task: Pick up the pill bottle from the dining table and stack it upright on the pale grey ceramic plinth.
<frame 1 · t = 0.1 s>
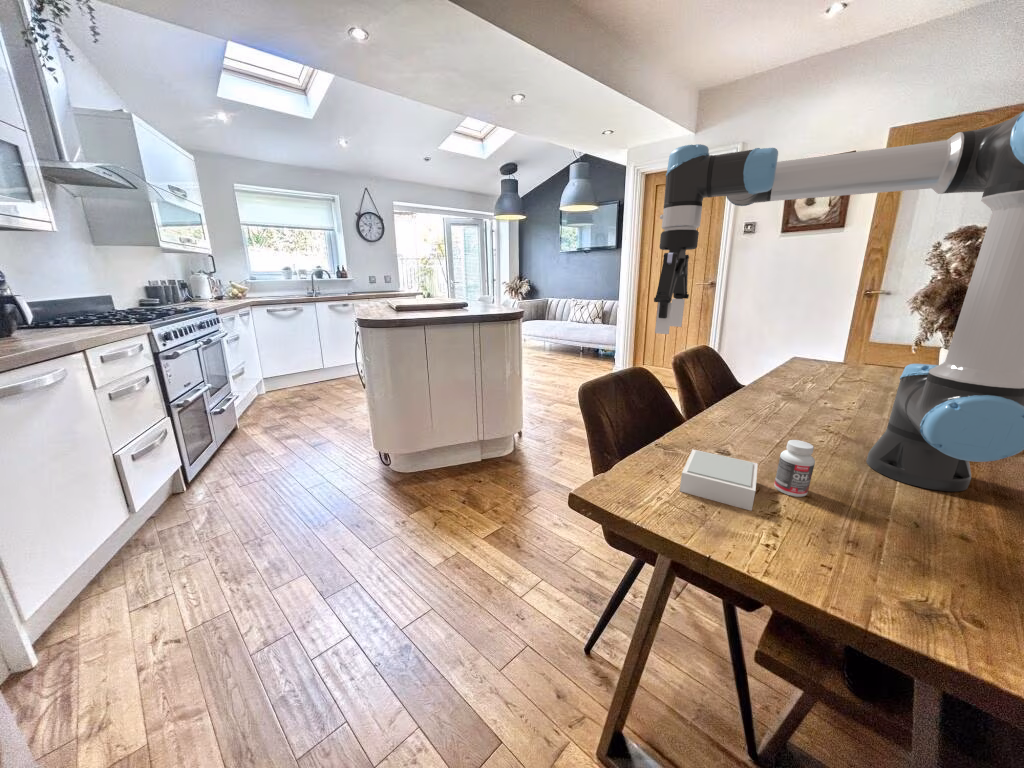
hand: (668, 329, 89), 28 cm above the table, fingers open, 13 cm apart
pill bottle: (790, 491, 76), on the table
plinth: (717, 486, 77), on the table
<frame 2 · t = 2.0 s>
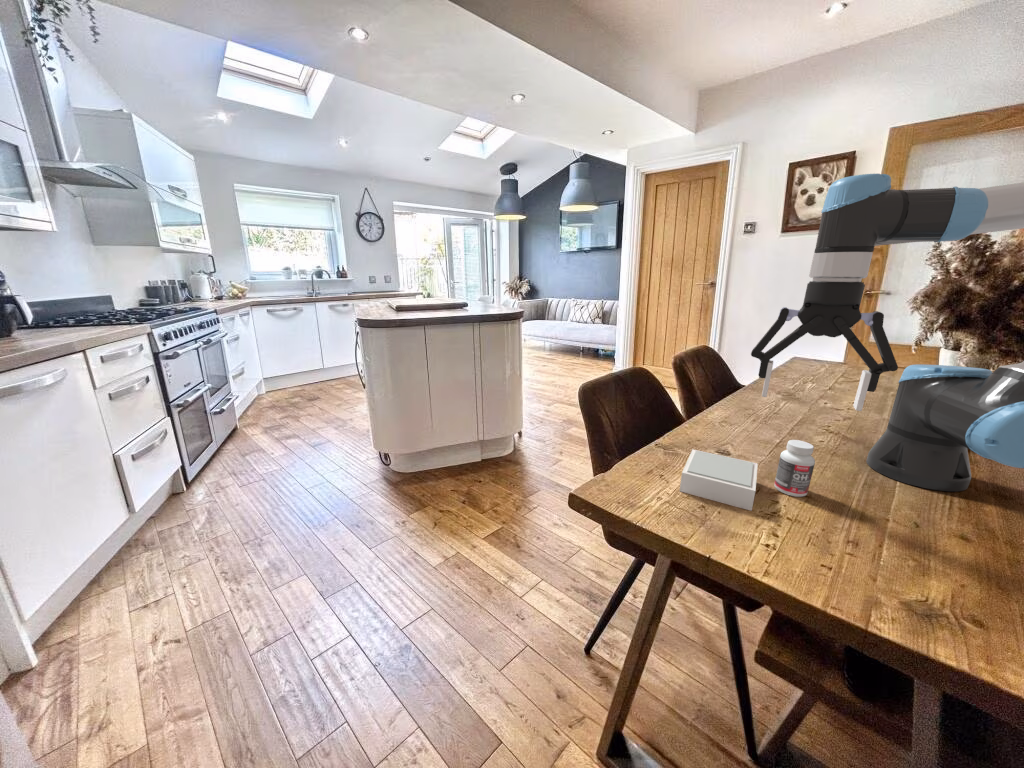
hand: (808, 401, 71), 18 cm above the table, fingers open, 13 cm apart
nothing on the table moved.
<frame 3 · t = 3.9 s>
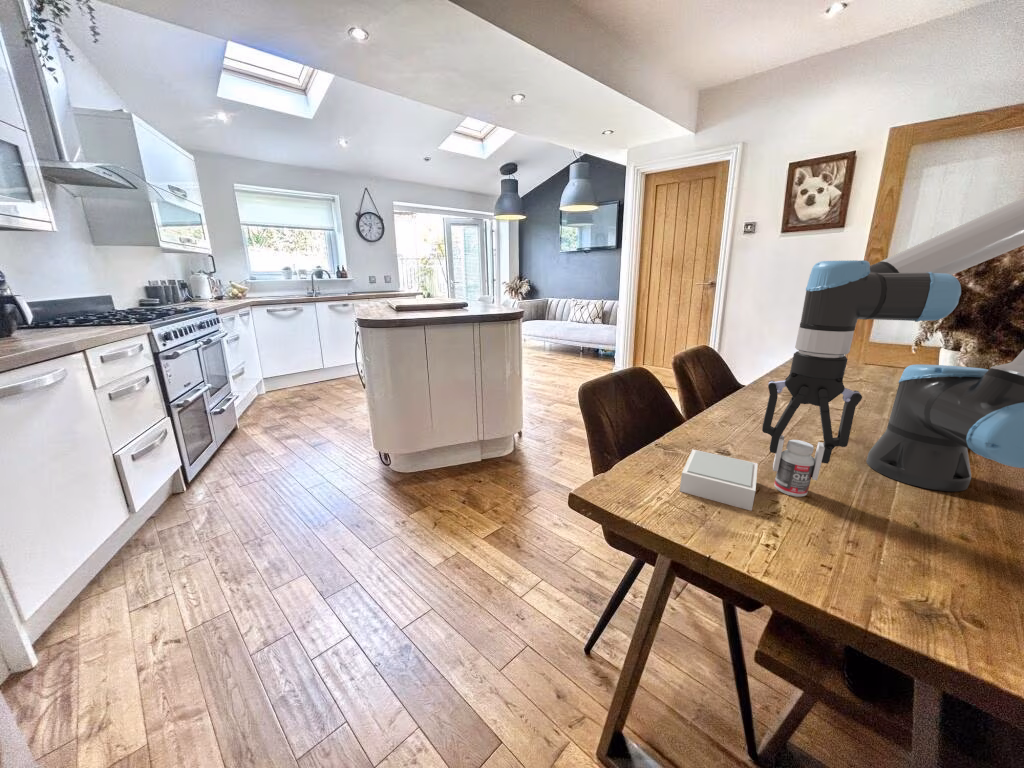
hand: (794, 472, 75), 4 cm above the table, fingers closed on pill bottle, 5 cm apart
pill bottle: (790, 491, 76), on the table, touching gripper
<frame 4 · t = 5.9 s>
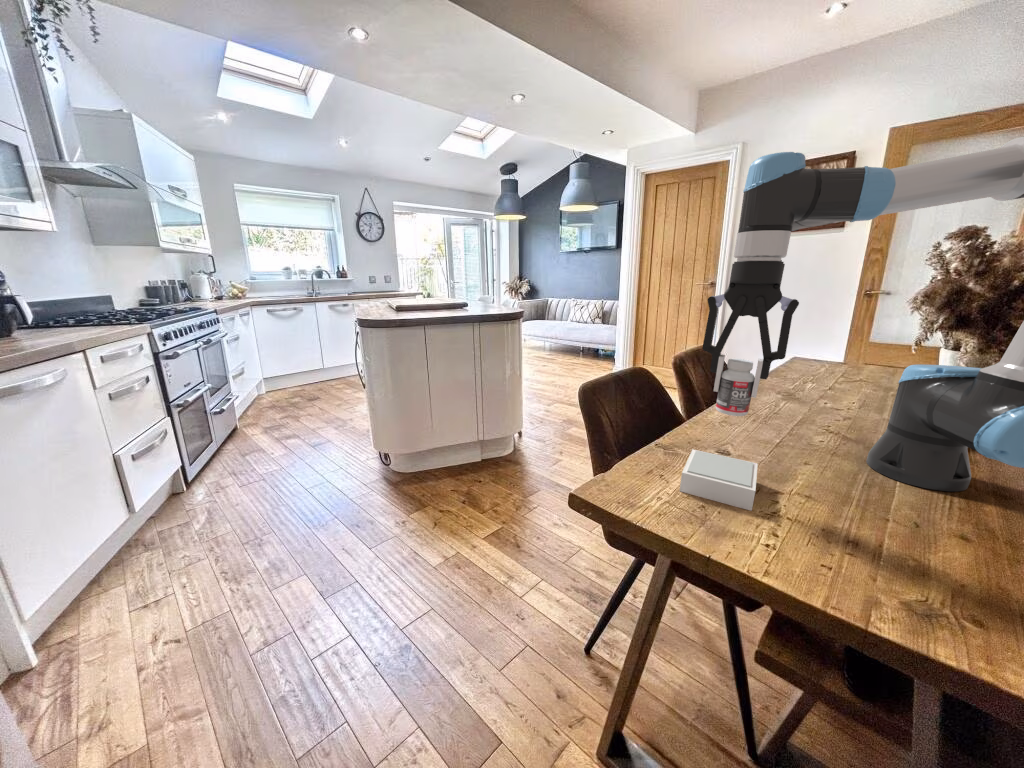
hand: (734, 392, 72), 19 cm above the table, fingers closed on pill bottle, 5 cm apart
pill bottle: (731, 412, 73), point 15 cm above the table, touching gripper
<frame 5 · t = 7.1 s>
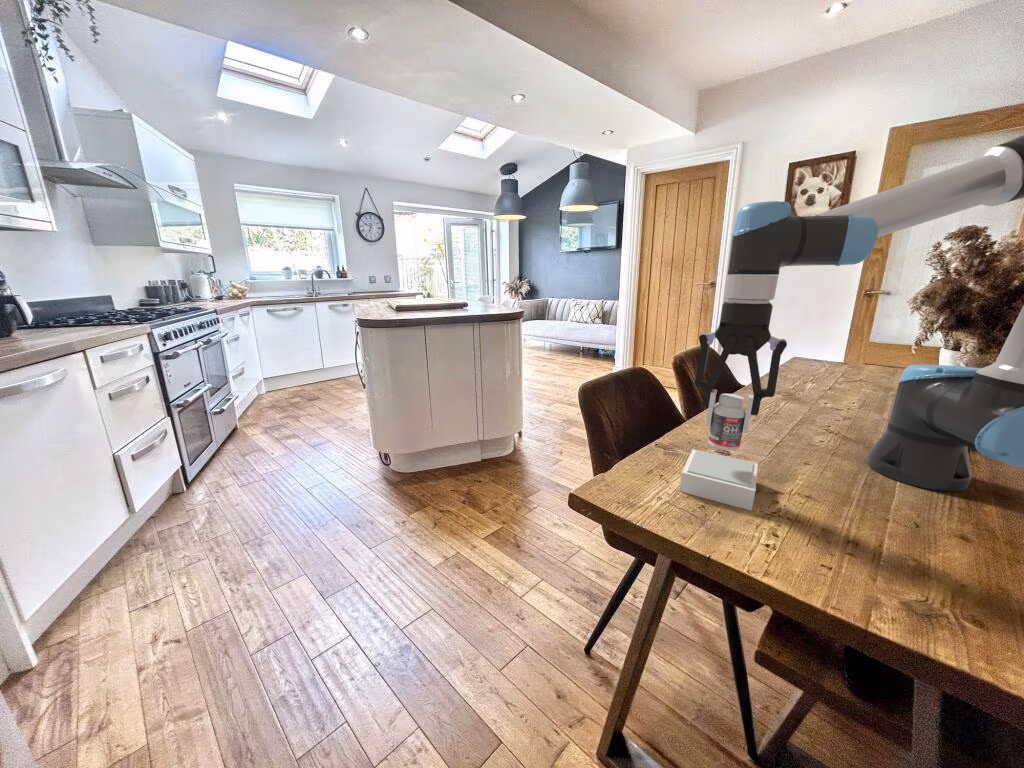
hand: (726, 426, 74), 13 cm above the table, fingers closed on pill bottle, 5 cm apart
pill bottle: (723, 446, 75), point 9 cm above the table, touching gripper
when the fingers open (9 cm above the table, at t = 8.0 s): pill bottle drops 1 cm, resting on plinth.
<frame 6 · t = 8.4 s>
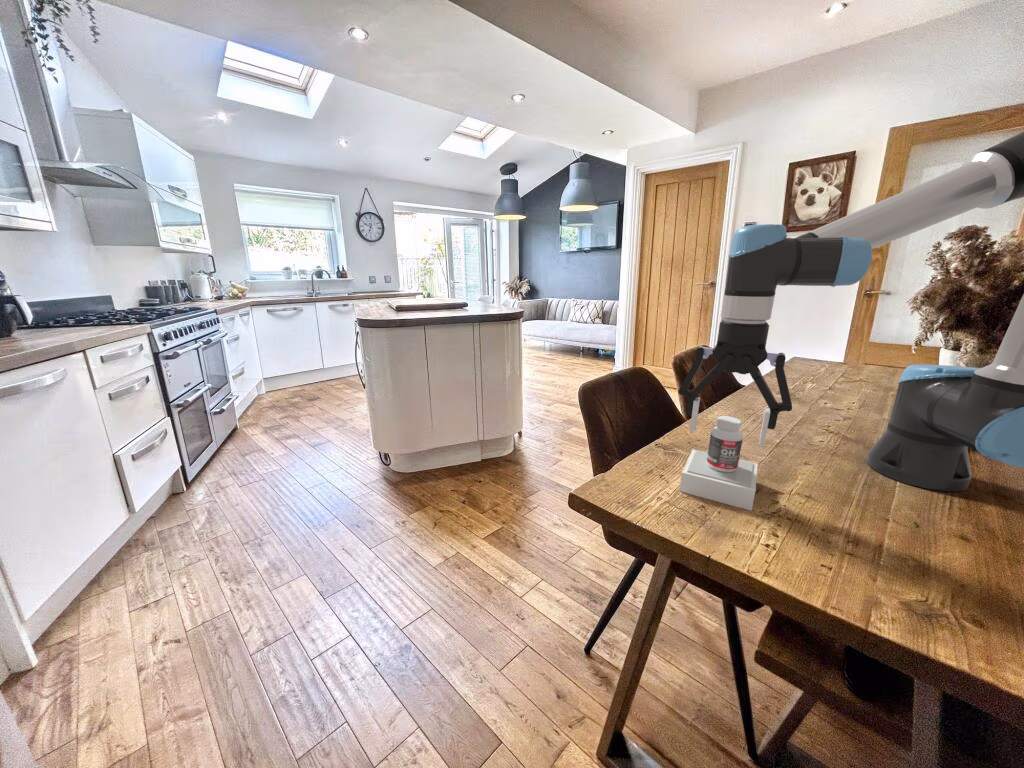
hand: (725, 437, 74), 10 cm above the table, fingers open, 11 cm apart
pill bottle: (721, 467, 76), point 4 cm above the table, touching plinth
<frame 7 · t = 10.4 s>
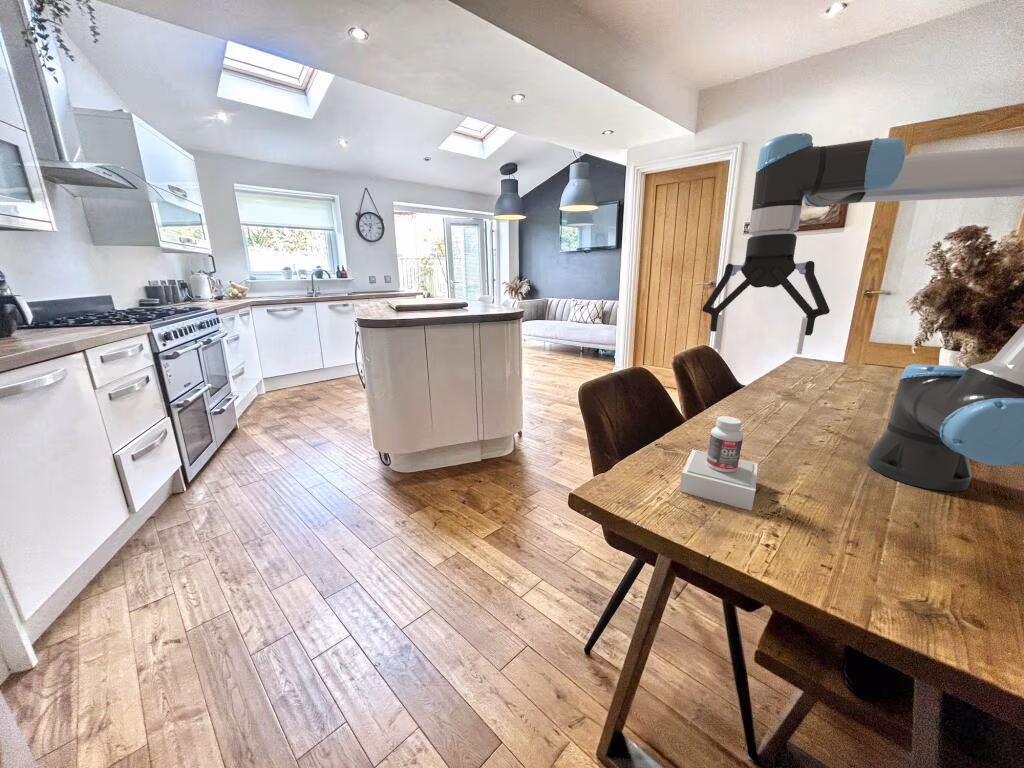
hand: (755, 350, 76), 26 cm above the table, fingers open, 13 cm apart
nothing on the table moved.
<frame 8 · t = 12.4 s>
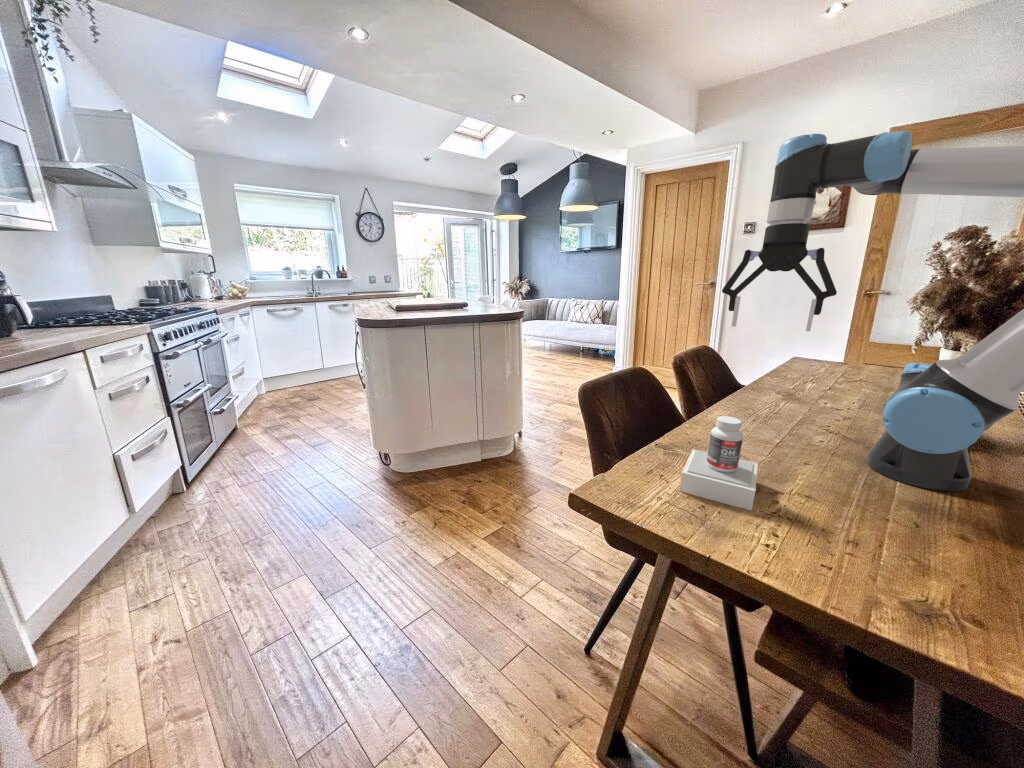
hand: (769, 328, 86), 29 cm above the table, fingers open, 13 cm apart
nothing on the table moved.
at the end: pill bottle inside the target area on the plinth (0.1 cm from its centre), point 4.1 cm above the plinth's base; pill bottle tilted 0°; the gripper is holding nothing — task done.
